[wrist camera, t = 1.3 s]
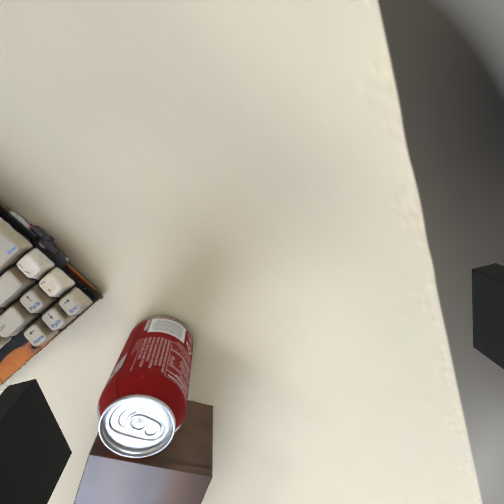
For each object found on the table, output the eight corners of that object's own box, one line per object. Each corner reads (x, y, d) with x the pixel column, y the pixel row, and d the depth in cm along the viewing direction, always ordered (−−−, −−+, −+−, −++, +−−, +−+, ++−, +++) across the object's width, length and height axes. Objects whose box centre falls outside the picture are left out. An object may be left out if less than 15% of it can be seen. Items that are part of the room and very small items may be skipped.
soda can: (151, 302, 34) (119, 374, 23) (205, 333, 36) (201, 415, 24) (117, 350, 35) (71, 442, 24) (171, 378, 37) (152, 477, 26)
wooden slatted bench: (74, 522, 41) (37, 618, 33) (118, 384, 37) (88, 454, 28) (161, 534, 43) (148, 627, 35) (212, 406, 39) (212, 477, 30)
